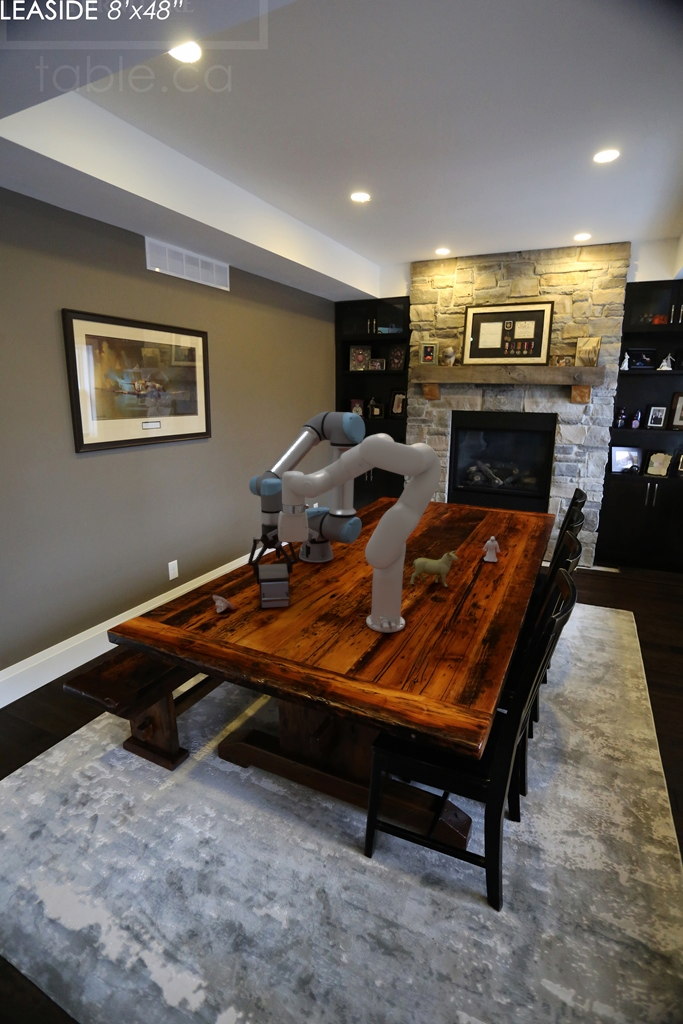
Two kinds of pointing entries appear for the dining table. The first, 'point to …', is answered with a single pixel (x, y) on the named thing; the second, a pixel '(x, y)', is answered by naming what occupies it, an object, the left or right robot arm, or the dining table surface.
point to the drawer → (274, 593)
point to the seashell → (221, 603)
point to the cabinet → (272, 575)
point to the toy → (434, 567)
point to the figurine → (491, 550)
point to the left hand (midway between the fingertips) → (273, 582)
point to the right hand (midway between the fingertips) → (292, 557)
